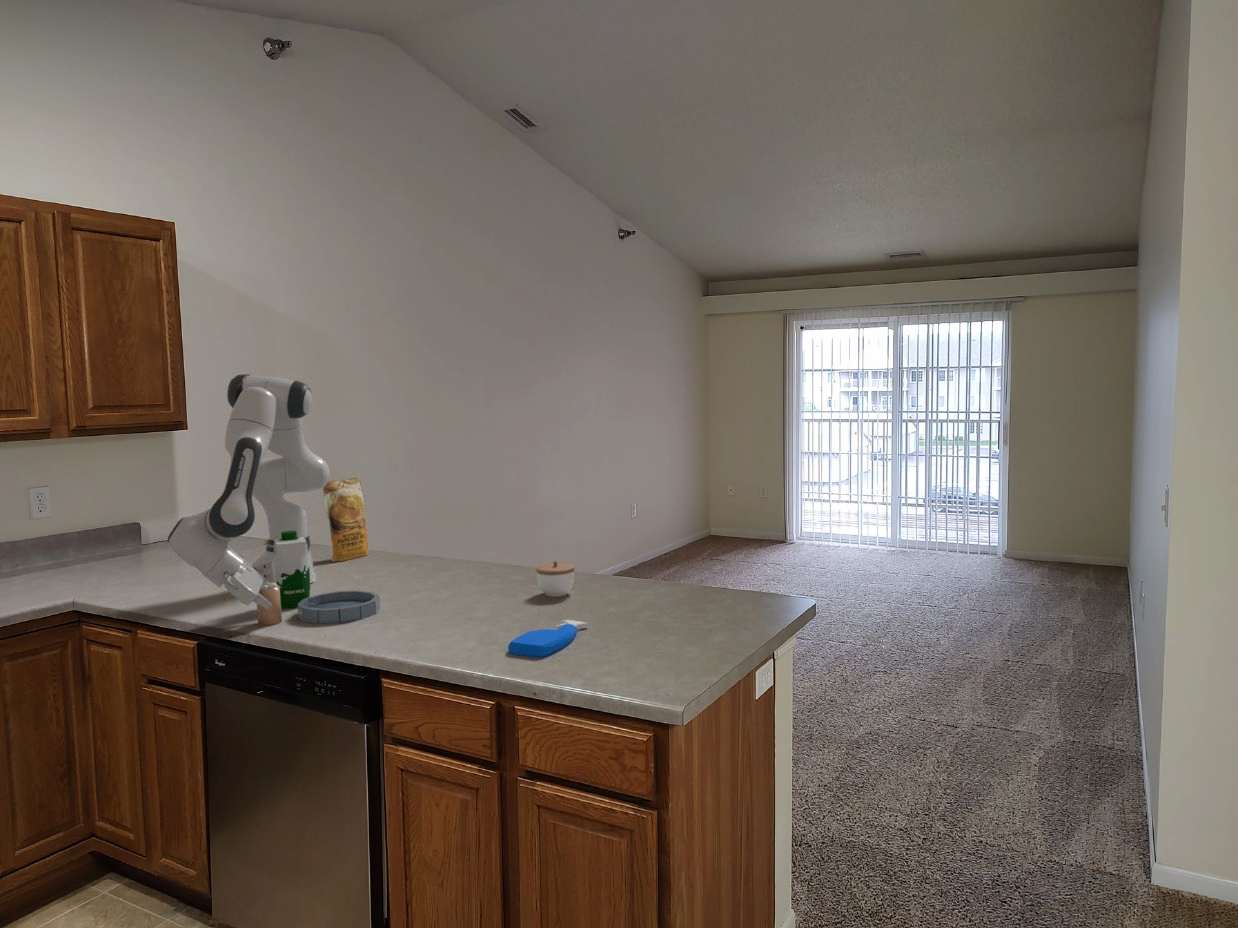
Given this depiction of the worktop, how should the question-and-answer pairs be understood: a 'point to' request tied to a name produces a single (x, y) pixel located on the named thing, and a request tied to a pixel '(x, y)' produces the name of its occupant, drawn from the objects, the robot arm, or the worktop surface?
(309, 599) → the slate bowl
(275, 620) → the pebble cup
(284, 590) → the milk carton
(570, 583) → the lidded jar
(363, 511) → the pancake mix bag
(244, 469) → the robot arm
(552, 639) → the spray bottle
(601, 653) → the worktop surface
